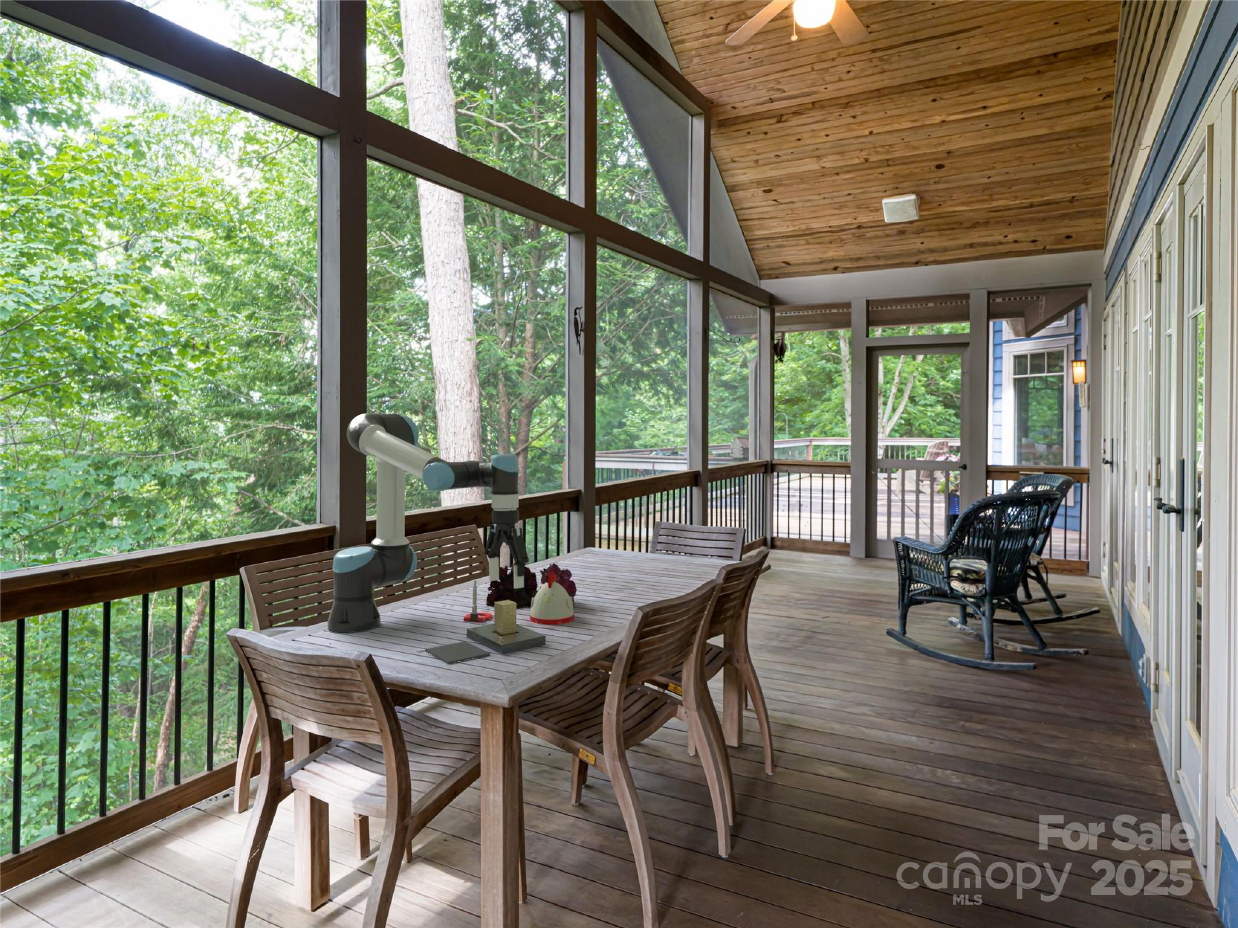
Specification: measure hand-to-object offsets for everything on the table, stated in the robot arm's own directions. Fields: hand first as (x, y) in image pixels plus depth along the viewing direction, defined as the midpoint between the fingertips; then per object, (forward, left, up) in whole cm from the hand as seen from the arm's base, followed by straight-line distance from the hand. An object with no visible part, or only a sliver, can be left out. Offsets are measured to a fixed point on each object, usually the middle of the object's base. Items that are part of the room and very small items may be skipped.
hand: (506, 584), depth 205 cm
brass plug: (0, 0, -16) cm, 16 cm away
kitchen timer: (-12, +24, -17) cm, 32 cm away
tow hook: (-27, +6, -17) cm, 32 cm away
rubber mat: (+2, -16, -16) cm, 23 cm away
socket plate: (0, 0, -16) cm, 16 cm away
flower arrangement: (-32, +30, -17) cm, 47 cm away
